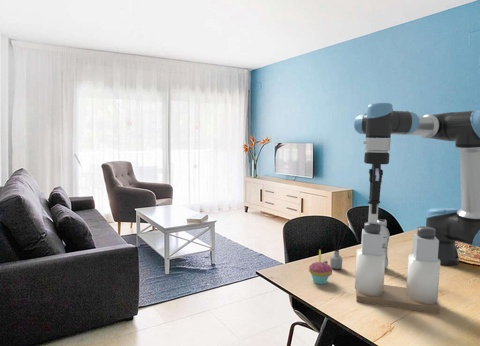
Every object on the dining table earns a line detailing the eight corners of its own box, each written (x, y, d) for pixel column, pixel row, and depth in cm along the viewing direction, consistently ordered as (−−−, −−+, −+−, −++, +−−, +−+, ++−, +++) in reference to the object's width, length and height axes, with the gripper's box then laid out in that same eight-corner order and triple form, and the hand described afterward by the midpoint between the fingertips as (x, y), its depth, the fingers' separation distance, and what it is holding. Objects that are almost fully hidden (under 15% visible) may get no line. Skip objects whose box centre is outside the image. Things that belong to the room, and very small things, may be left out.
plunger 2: (431, 255, 109) (433, 227, 108) (435, 260, 105) (437, 231, 104) (414, 253, 111) (416, 225, 110) (417, 258, 106) (419, 229, 105)
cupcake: (305, 277, 128) (306, 246, 127) (327, 276, 129) (328, 246, 128) (312, 286, 120) (313, 254, 119) (335, 286, 120) (337, 254, 119)
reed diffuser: (348, 268, 137) (351, 220, 135) (343, 274, 131) (346, 224, 129) (324, 263, 143) (326, 217, 141) (318, 268, 137) (320, 220, 135)
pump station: (431, 296, 114) (436, 233, 111) (441, 314, 102) (447, 244, 100) (353, 286, 121) (357, 226, 119) (354, 301, 110) (358, 235, 107)
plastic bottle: (389, 272, 134) (392, 223, 132) (371, 270, 136) (374, 222, 134) (386, 266, 141) (389, 219, 139) (369, 264, 142) (371, 218, 140)
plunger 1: (378, 249, 114) (380, 222, 113) (379, 254, 109) (381, 226, 108) (362, 248, 115) (364, 221, 115) (363, 252, 111) (365, 224, 110)
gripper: (363, 150, 116) (360, 217, 119) (365, 152, 104) (361, 226, 106) (387, 151, 114) (382, 219, 116) (392, 152, 102) (387, 228, 104)
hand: (372, 222), depth 111 cm, fingers closed
